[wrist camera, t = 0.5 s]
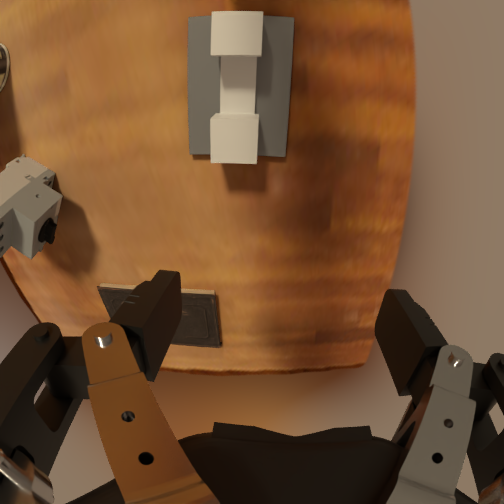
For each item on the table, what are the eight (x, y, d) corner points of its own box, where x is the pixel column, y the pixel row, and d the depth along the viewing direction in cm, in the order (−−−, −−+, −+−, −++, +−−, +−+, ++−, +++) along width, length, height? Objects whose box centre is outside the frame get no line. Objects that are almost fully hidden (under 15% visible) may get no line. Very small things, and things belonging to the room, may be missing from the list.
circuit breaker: (73, 224, 42) (27, 282, 30) (17, 188, 38) (-35, 234, 26) (83, 189, 39) (28, 245, 27) (23, 153, 34) (-38, 195, 22)
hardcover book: (101, 279, 50) (96, 287, 49) (216, 286, 50) (214, 295, 48) (123, 331, 60) (120, 339, 58) (221, 340, 60) (220, 349, 58)
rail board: (190, 18, 25) (177, 10, 20) (293, 19, 25) (299, 10, 20) (191, 152, 36) (180, 167, 31) (284, 154, 35) (288, 170, 31)
